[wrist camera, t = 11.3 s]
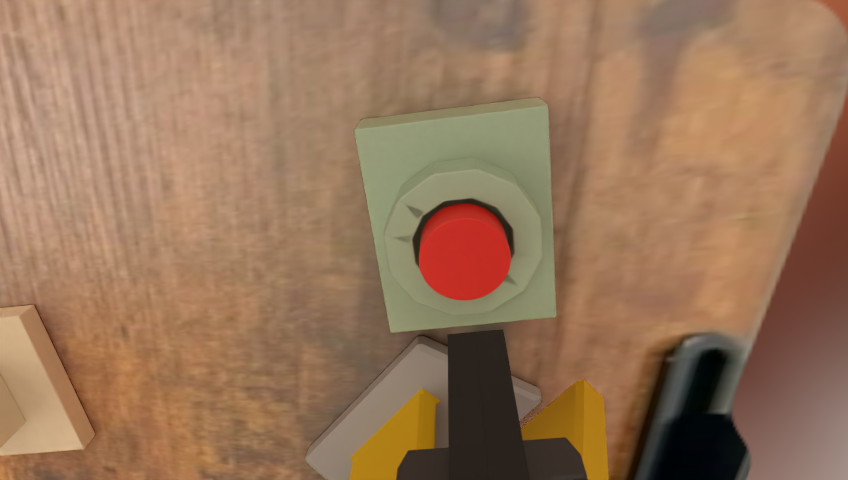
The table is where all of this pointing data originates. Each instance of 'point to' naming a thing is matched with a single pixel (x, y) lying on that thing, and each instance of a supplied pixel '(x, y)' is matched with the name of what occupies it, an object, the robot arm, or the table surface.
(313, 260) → the table surface
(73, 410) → the bracket
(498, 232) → the button
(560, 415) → the toy computer monitor
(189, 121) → the table surface
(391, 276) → the button block
